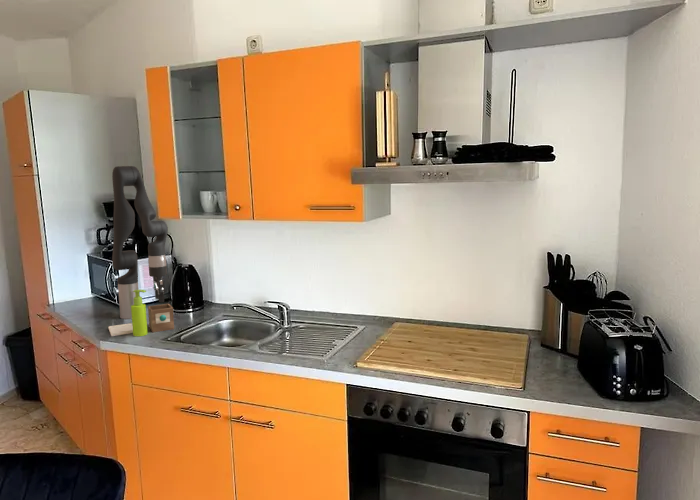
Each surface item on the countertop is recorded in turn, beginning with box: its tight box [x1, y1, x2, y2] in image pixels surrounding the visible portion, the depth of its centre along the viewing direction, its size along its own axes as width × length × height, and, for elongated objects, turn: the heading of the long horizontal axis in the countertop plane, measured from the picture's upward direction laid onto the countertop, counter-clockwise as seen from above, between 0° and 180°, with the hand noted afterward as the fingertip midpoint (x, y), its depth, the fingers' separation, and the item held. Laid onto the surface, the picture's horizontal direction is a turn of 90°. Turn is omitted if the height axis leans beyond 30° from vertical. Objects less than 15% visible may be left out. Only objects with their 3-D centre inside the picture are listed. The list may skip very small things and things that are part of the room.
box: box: [147, 303, 175, 333], centre depth 227 cm, size 10×9×10 cm
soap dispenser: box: [131, 289, 148, 337], centre depth 218 cm, size 6×7×20 cm
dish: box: [108, 322, 133, 337], centre depth 226 cm, size 13×13×1 cm
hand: (159, 300), depth 226 cm, fingers open, 8 cm apart
